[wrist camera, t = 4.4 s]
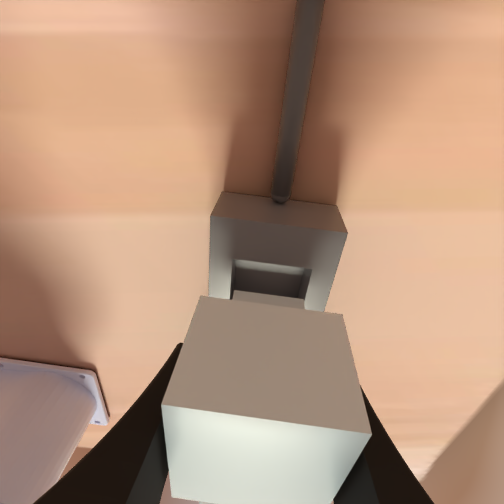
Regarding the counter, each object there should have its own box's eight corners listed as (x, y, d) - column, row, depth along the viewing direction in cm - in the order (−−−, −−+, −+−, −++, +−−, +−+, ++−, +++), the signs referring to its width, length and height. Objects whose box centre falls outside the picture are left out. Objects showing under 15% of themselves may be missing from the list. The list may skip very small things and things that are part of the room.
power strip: (212, 420, 27) (192, 519, 21) (232, -46, 11) (169, -193, 5) (277, 429, 27) (275, 531, 21) (399, -29, 11) (553, -157, 5)
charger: (209, 351, 15) (171, 497, 10) (211, 263, 12) (161, 404, 7) (307, 365, 15) (321, 519, 10) (333, 280, 12) (371, 433, 7)
